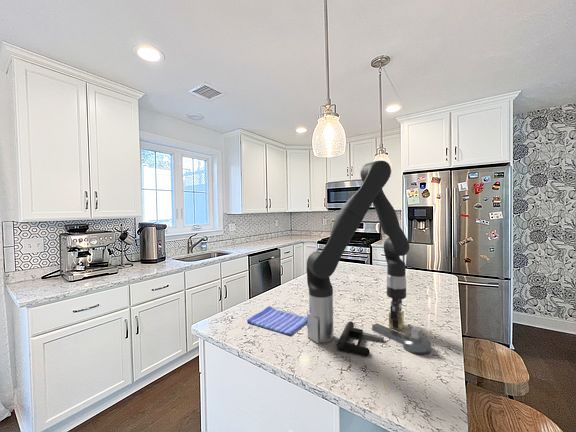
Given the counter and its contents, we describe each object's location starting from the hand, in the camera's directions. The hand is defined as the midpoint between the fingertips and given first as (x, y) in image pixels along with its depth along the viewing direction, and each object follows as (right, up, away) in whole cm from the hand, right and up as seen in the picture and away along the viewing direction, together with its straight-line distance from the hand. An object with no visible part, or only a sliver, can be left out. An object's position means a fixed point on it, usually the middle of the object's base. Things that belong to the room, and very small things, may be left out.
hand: (396, 325), depth 111 cm
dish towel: (-50, -2, +7) cm, 50 cm away
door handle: (-18, -2, -11) cm, 21 cm away
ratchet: (-3, -1, -11) cm, 12 cm away
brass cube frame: (0, -1, 0) cm, 1 cm away
